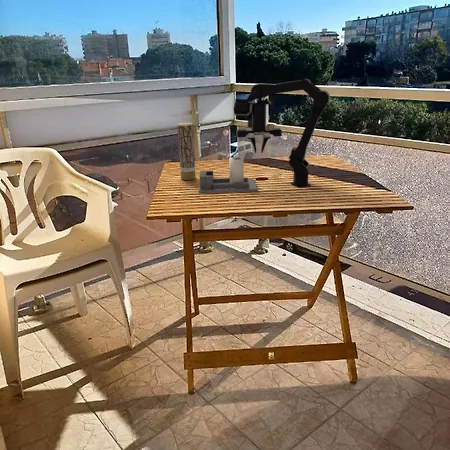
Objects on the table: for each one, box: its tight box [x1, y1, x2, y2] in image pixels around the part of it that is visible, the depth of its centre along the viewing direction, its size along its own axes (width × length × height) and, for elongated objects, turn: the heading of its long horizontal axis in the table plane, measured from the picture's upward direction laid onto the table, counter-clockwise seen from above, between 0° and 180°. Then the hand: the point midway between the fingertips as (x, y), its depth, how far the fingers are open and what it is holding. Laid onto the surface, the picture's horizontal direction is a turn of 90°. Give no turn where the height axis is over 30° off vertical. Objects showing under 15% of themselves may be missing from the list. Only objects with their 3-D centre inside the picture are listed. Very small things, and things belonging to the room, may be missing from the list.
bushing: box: [228, 156, 245, 183], centre depth 168 cm, size 6×6×11 cm
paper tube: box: [176, 122, 197, 181], centre depth 179 cm, size 7×7×25 cm
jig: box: [198, 170, 258, 194], centre depth 170 cm, size 24×16×6 cm, turn 91°
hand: (258, 152), depth 171 cm, fingers open, 2 cm apart
